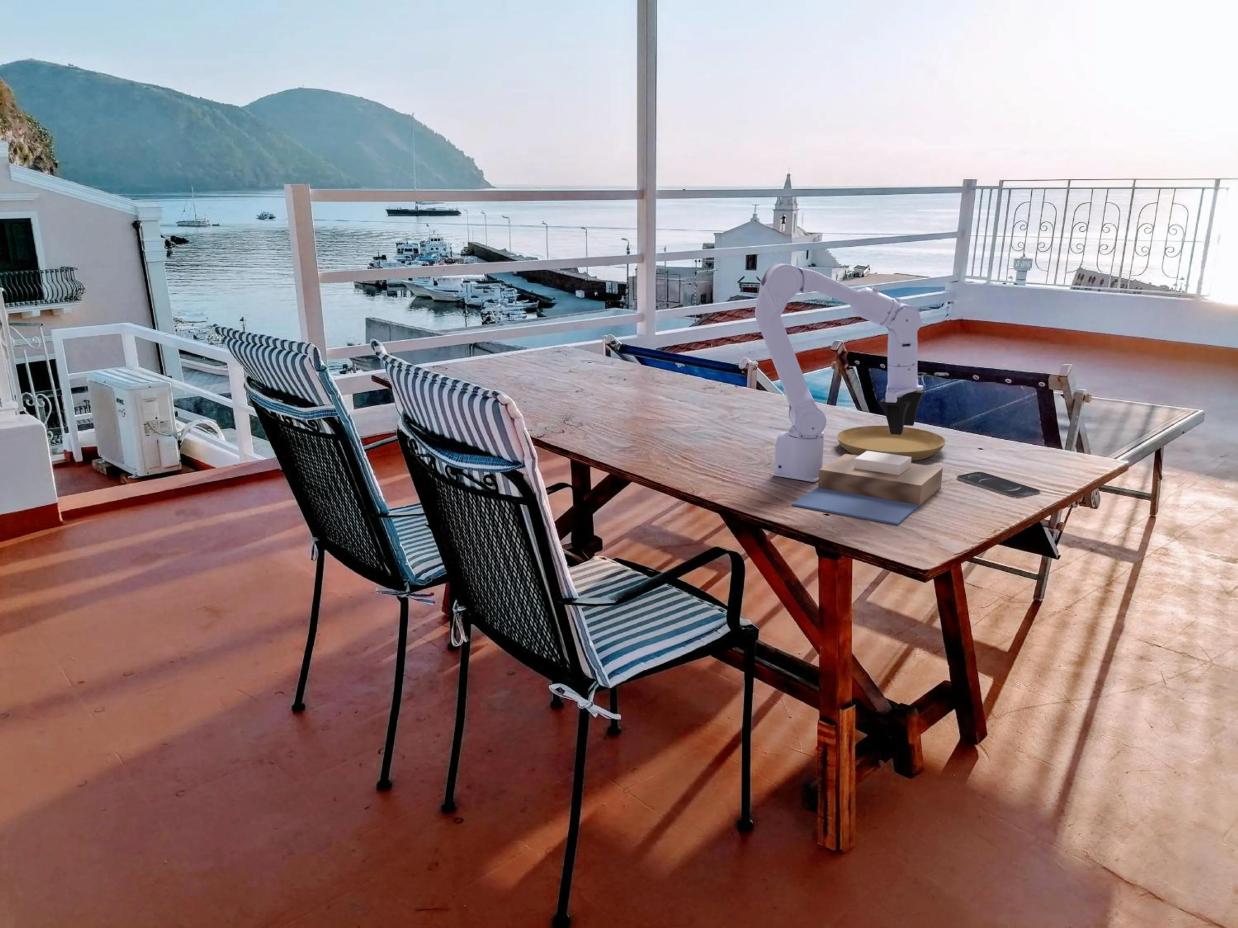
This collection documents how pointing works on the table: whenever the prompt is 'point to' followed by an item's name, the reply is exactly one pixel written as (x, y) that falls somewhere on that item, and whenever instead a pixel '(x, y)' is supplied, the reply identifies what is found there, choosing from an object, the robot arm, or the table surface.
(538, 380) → the table surface
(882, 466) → the tile
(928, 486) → the stand
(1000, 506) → the table surface
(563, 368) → the table surface
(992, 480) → the smartphone
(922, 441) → the plant saucer
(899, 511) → the mat
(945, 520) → the table surface
